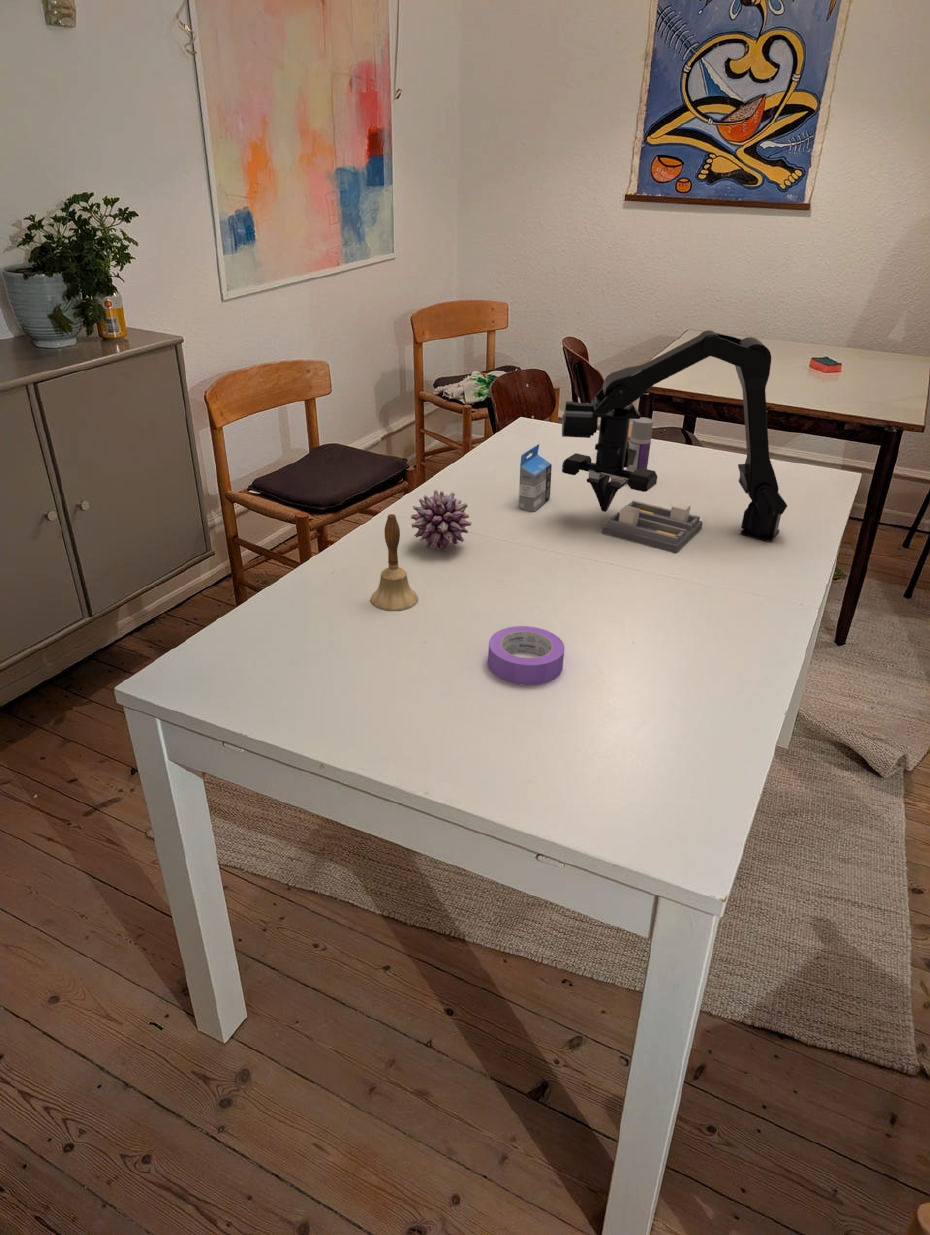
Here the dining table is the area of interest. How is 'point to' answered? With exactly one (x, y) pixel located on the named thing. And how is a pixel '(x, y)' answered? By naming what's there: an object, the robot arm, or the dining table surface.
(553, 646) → the masking tape
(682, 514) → the beige rectangular block
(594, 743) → the dining table surface
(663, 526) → the switch bank
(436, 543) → the flower
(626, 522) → the tab
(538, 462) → the label tape box
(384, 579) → the hand bell
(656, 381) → the robot arm
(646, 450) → the container
